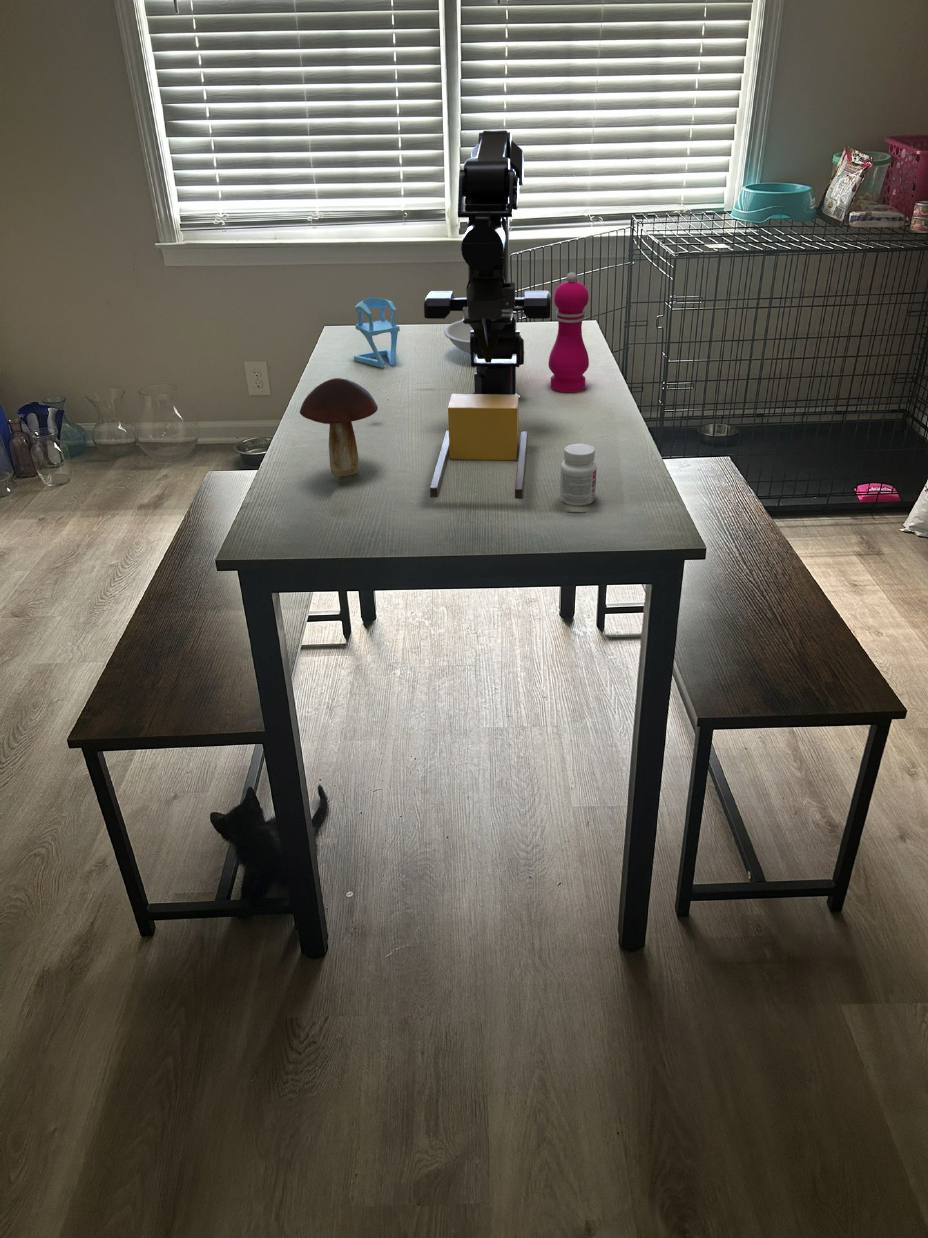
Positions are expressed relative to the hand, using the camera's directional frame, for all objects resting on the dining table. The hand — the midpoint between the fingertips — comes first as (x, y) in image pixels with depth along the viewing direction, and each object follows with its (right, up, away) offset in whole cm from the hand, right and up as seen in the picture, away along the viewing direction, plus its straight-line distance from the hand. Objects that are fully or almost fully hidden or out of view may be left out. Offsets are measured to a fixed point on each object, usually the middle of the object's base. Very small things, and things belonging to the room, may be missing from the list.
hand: (488, 361), depth 146 cm
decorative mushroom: (-21, -19, -7) cm, 30 cm away
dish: (0, +13, +44) cm, 46 cm away
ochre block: (-1, -15, -3) cm, 15 cm away
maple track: (-1, -19, -7) cm, 20 cm away
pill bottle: (+12, -25, -17) cm, 32 cm away
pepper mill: (+15, +2, +26) cm, 30 cm away
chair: (-20, +11, +41) cm, 47 cm away
